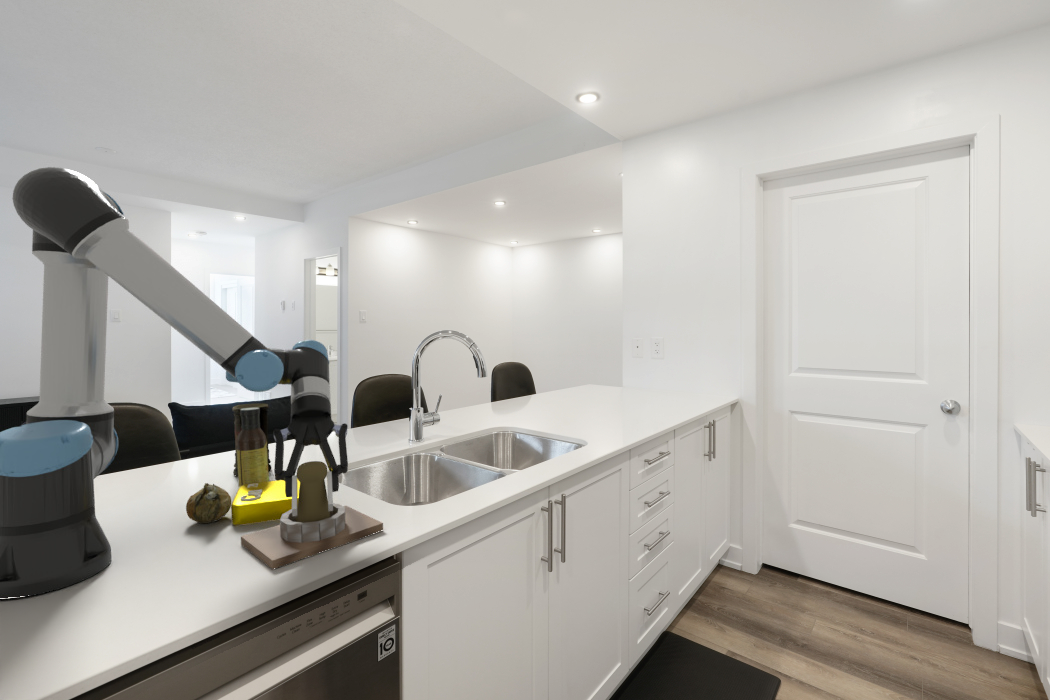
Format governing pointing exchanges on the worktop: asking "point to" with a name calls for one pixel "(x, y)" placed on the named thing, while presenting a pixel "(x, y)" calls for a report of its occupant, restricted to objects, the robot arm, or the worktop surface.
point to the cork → (312, 492)
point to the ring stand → (308, 535)
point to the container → (238, 427)
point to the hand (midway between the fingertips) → (312, 509)
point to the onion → (208, 504)
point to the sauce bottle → (251, 449)
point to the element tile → (261, 502)
